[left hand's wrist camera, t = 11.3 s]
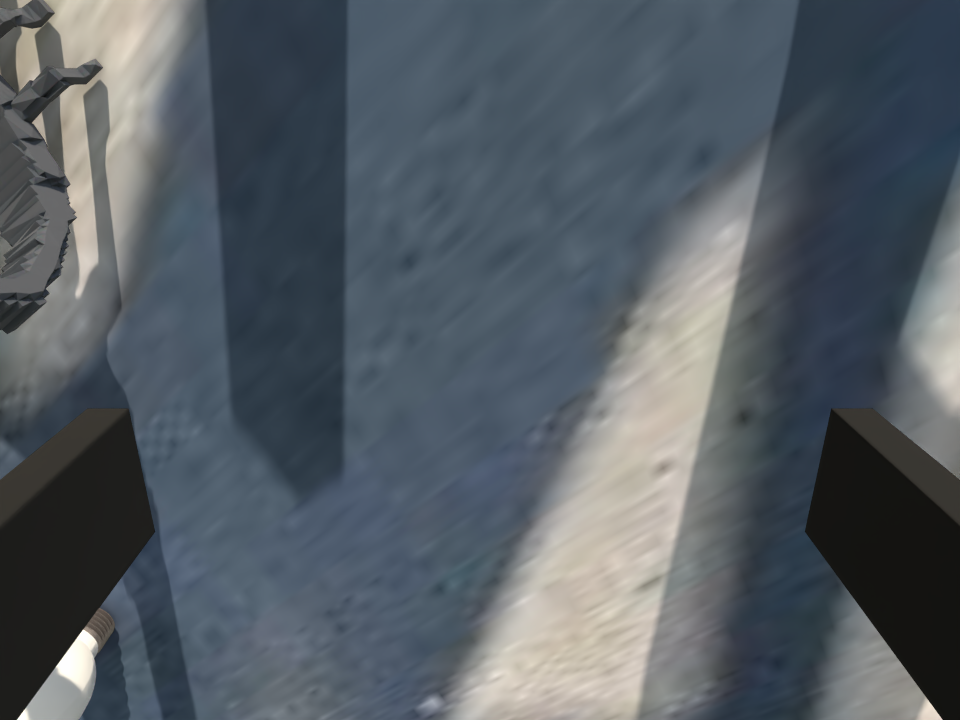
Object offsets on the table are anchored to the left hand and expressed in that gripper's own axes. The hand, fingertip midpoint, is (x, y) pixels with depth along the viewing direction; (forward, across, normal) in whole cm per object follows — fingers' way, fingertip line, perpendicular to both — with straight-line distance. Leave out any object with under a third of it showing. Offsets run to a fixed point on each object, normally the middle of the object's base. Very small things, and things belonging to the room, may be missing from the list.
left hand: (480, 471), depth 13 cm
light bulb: (+31, -31, -33) cm, 55 cm away
